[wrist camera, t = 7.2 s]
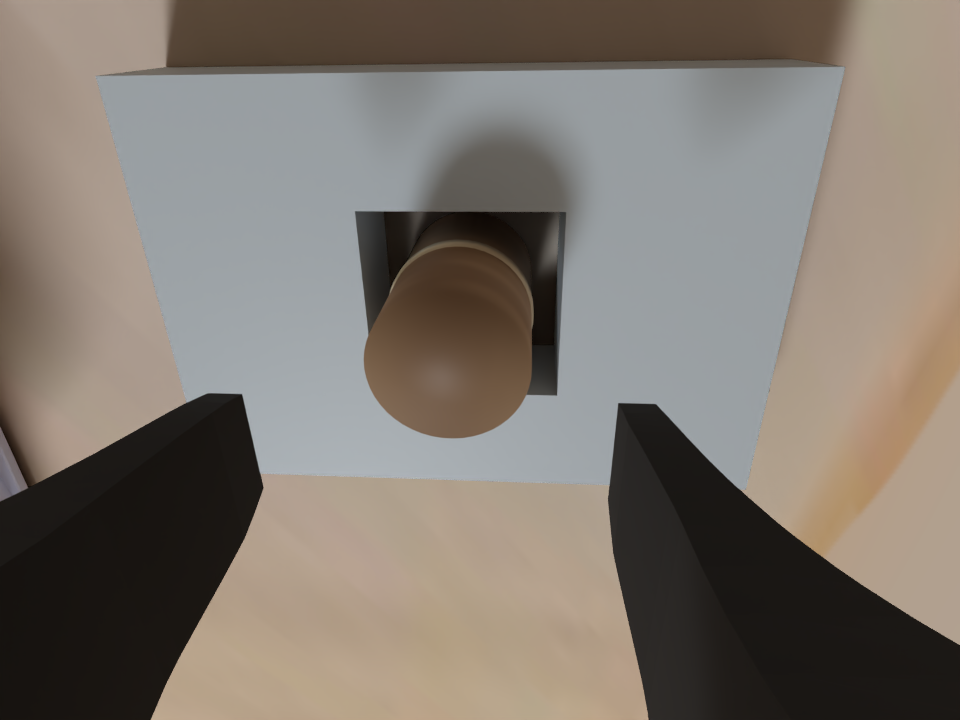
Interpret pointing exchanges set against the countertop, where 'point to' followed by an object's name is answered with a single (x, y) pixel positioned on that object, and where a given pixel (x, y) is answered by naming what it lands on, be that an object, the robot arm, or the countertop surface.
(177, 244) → the grey board
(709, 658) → the robot arm
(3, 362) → the countertop surface
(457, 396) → the walnut peg
